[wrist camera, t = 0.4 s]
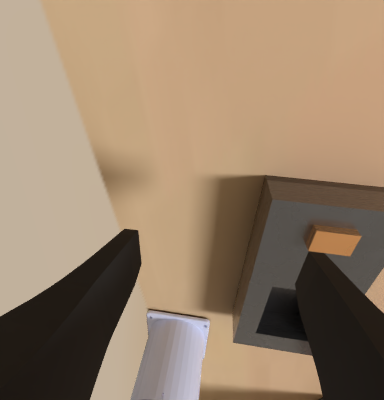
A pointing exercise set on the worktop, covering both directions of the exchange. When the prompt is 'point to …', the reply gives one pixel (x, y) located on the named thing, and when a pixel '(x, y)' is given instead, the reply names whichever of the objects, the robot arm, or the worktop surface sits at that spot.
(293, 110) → the worktop surface
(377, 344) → the robot arm
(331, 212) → the grey slotted block
